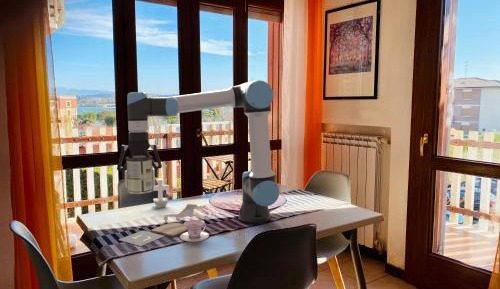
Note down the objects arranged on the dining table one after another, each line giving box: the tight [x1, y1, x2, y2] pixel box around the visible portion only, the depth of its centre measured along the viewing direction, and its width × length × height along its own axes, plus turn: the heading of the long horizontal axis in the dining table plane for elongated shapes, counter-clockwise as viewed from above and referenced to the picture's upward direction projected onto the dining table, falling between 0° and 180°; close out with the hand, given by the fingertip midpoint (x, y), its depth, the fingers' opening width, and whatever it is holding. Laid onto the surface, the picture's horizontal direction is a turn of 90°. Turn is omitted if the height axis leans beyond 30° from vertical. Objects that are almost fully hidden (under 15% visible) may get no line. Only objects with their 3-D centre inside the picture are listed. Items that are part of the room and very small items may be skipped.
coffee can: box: [125, 154, 154, 195], centre depth 149 cm, size 10×10×14 cm
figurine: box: [152, 177, 170, 208], centre depth 199 cm, size 7×9×15 cm
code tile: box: [118, 230, 165, 247], centre depth 152 cm, size 13×13×1 cm
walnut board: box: [150, 221, 188, 238], centre depth 162 cm, size 13×13×1 cm
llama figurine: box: [163, 202, 210, 223], centre depth 175 cm, size 2×12×20 cm
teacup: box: [179, 219, 210, 243], centre depth 153 cm, size 12×12×6 cm
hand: (140, 186), depth 150 cm, fingers closed on coffee can, 10 cm apart
